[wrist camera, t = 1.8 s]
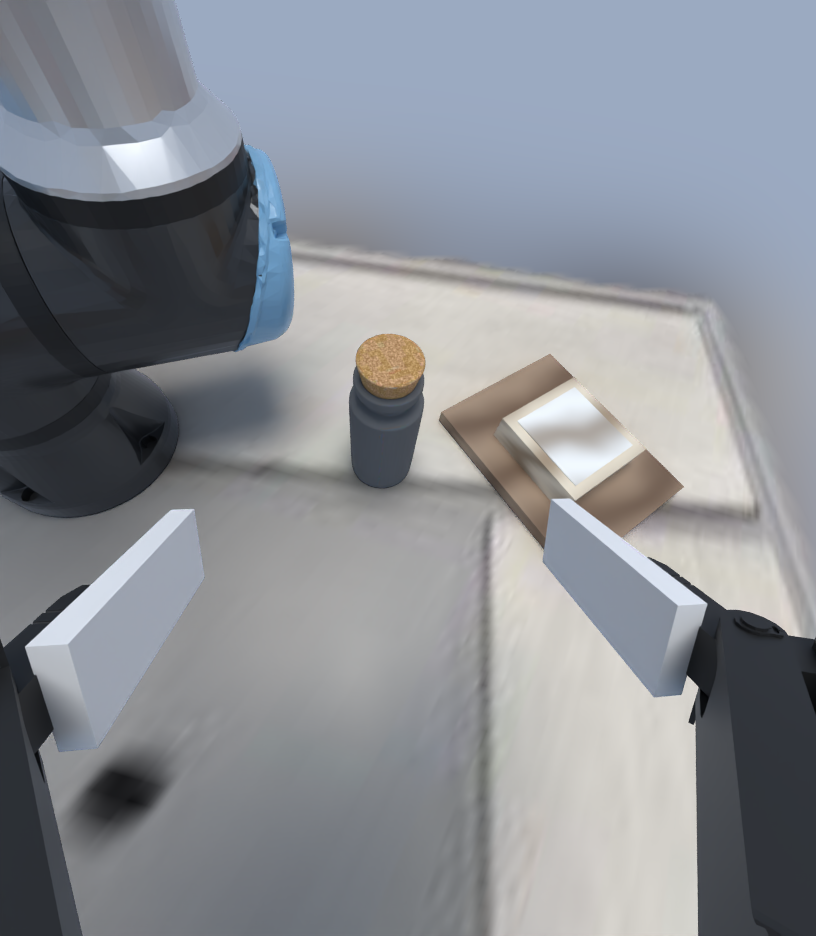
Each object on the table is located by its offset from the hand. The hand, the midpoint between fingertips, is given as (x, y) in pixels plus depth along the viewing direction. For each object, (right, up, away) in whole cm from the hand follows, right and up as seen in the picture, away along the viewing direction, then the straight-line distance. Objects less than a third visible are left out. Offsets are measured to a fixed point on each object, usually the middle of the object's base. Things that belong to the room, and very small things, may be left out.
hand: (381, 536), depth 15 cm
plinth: (+16, +4, +28) cm, 33 cm away
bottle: (-2, +3, +26) cm, 26 cm away
